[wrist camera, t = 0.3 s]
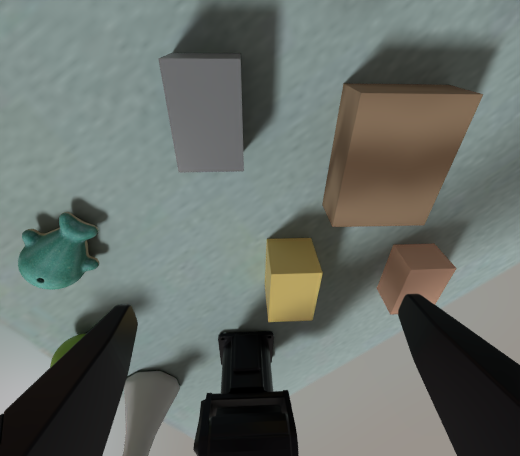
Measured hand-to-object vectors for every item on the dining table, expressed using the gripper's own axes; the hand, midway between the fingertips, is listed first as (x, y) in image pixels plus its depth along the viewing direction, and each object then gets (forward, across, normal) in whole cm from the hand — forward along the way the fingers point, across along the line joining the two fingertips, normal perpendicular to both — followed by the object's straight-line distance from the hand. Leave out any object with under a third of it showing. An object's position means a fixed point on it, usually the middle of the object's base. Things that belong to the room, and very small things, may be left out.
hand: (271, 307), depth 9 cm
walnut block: (+14, -9, 0) cm, 17 cm away
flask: (+14, +14, +32) cm, 38 cm away
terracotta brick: (+14, -15, +12) cm, 24 cm away
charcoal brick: (+14, +3, -4) cm, 14 cm away
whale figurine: (+14, +16, +7) cm, 22 cm away
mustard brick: (+14, -3, +10) cm, 18 cm away
